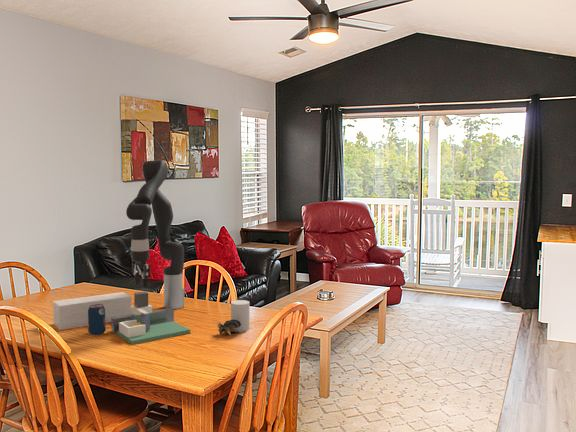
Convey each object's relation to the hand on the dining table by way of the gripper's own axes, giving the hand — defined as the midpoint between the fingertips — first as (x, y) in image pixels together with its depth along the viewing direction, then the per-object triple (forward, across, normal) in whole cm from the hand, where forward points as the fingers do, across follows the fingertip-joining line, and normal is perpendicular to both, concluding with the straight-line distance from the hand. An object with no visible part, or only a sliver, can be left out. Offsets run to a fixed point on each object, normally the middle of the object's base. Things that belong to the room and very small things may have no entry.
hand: (141, 285), depth 243 cm
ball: (+15, -11, +6) cm, 20 cm away
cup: (+19, -29, -33) cm, 48 cm away
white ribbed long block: (+19, +22, +14) cm, 32 cm away
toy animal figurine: (+19, -32, -25) cm, 45 cm away
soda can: (+19, +2, +19) cm, 27 cm away
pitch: (+19, -13, 0) cm, 23 cm away
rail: (+19, 0, 0) cm, 19 cm away
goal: (+17, -11, +9) cm, 22 cm away
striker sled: (+17, -5, 0) cm, 17 cm away
